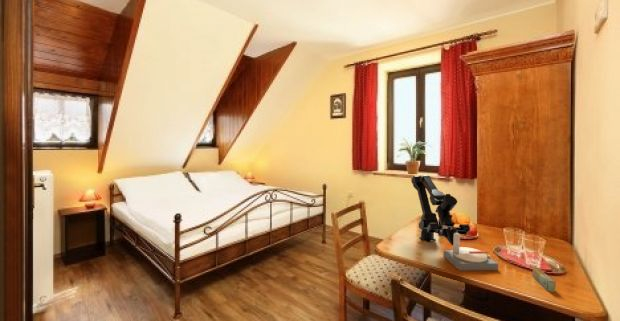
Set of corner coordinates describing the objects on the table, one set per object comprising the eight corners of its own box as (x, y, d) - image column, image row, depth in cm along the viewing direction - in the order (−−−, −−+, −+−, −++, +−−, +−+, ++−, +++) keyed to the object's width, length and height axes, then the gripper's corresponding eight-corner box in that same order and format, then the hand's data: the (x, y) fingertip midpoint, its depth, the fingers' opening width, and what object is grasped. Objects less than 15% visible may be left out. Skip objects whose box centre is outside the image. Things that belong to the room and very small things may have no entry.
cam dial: (477, 249, 139) (478, 228, 138) (497, 262, 125) (498, 238, 124) (445, 250, 138) (445, 229, 137) (462, 263, 124) (463, 239, 123)
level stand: (477, 255, 139) (478, 247, 139) (498, 270, 124) (498, 260, 124) (443, 256, 139) (443, 247, 139) (459, 270, 124) (460, 261, 124)
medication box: (555, 292, 106) (556, 282, 106) (547, 291, 107) (548, 281, 107) (539, 277, 118) (539, 268, 117) (531, 276, 118) (532, 267, 118)
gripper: (457, 224, 147) (466, 253, 137) (421, 222, 148) (427, 251, 138) (465, 213, 139) (476, 243, 129) (427, 211, 140) (434, 241, 130)
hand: (452, 245), depth 131 cm, fingers closed, pressing on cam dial
